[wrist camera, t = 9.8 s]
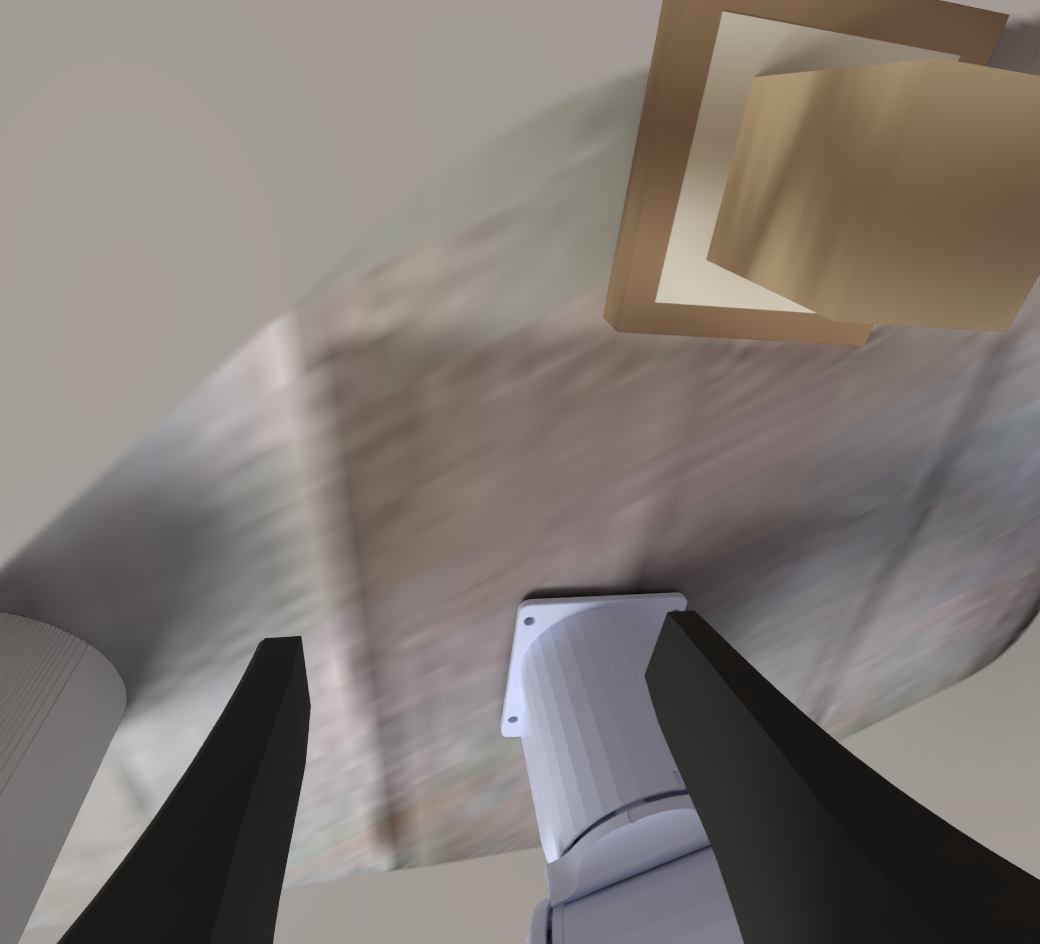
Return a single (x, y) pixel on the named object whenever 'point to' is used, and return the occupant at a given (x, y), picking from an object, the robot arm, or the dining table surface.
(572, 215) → the dining table surface
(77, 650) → the cup
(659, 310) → the picture frame
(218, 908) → the robot arm
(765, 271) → the oak block
